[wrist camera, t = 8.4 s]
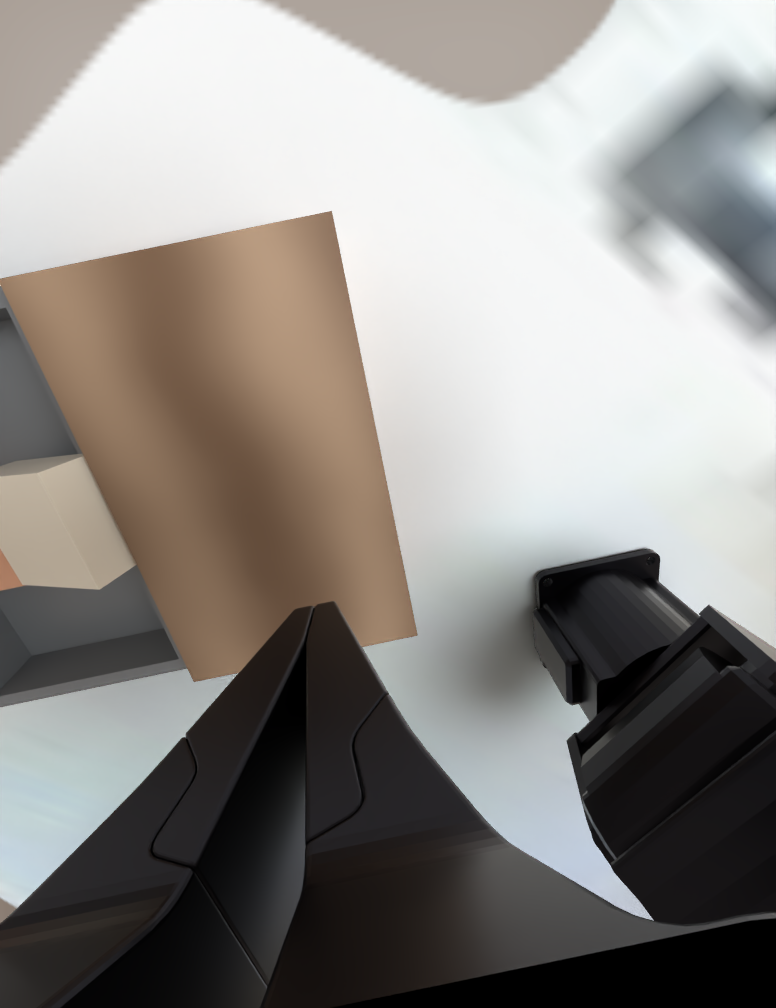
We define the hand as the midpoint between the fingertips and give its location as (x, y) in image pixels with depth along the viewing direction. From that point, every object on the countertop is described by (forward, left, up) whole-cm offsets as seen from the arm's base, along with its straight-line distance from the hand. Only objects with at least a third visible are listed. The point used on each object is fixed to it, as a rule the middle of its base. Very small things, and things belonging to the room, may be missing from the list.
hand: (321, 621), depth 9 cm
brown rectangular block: (+3, 0, -12) cm, 12 cm away
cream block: (+10, -1, -9) cm, 14 cm away
